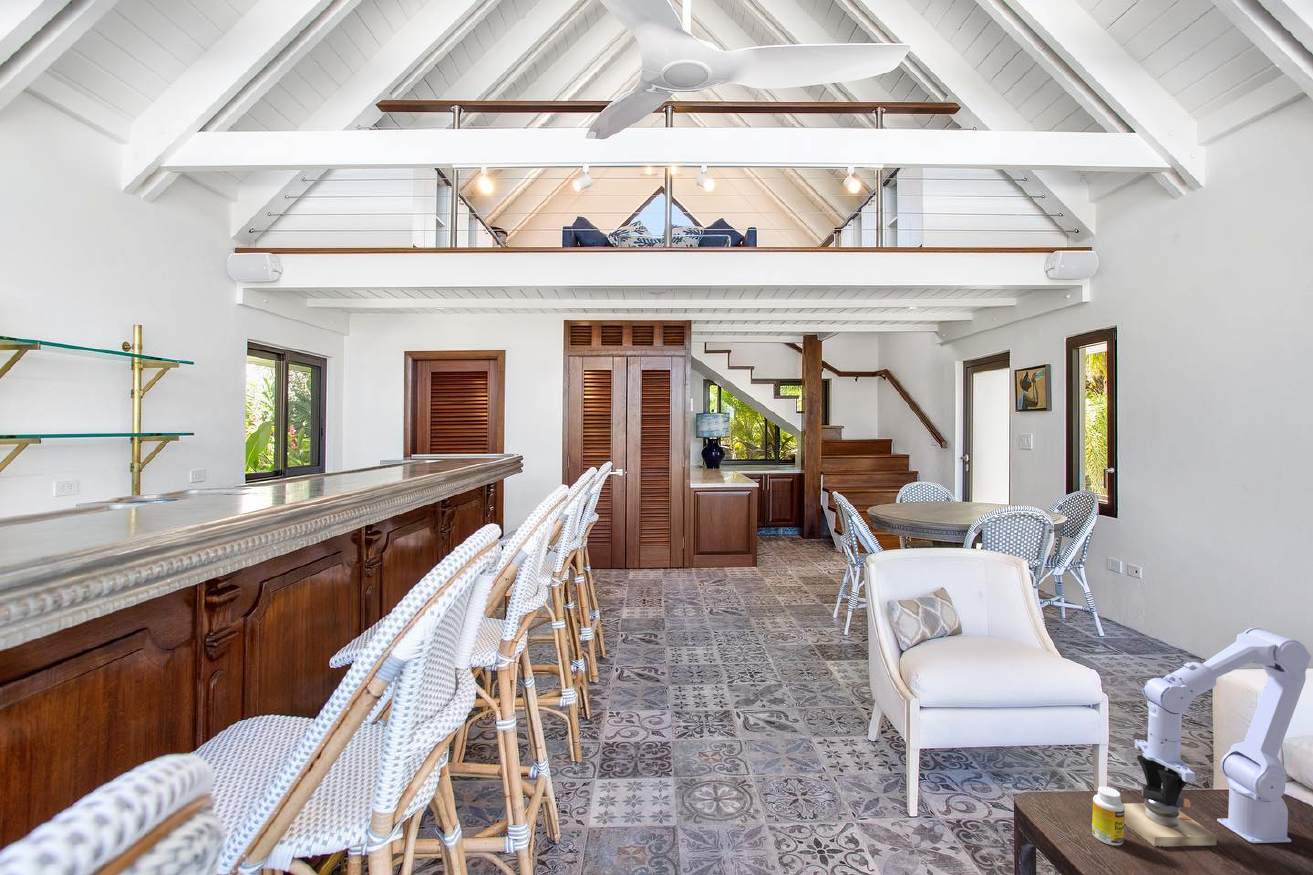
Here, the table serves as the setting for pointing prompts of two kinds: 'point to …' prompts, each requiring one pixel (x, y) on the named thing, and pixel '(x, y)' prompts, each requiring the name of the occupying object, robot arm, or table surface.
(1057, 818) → the table surface
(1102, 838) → the supplement bottle
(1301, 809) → the table surface
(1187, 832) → the cream base plate
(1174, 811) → the rotary knob
